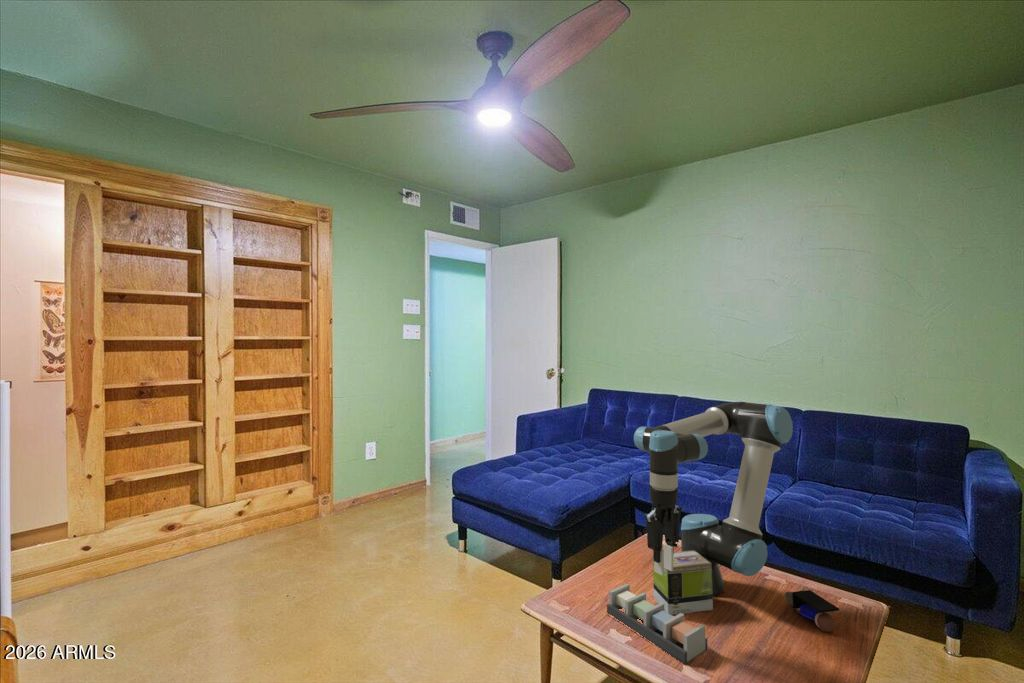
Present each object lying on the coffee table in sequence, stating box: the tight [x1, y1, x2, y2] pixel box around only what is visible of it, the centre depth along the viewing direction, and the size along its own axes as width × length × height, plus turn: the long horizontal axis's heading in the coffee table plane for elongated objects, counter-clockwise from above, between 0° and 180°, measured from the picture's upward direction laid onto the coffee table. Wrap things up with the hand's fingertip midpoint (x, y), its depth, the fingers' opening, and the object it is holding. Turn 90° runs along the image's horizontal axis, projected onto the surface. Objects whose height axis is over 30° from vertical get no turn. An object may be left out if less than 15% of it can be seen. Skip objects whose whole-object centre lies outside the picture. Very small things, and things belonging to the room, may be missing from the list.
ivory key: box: [616, 590, 637, 609], centre depth 143 cm, size 5×5×3 cm
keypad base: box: [606, 583, 708, 665], centre depth 135 cm, size 10×27×7 cm, turn 35°
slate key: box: [652, 610, 674, 632], centre depth 132 cm, size 5×5×3 cm
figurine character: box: [784, 589, 840, 633], centre depth 140 cm, size 7×8×15 cm
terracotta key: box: [672, 621, 695, 644], centre depth 126 cm, size 5×5×3 cm
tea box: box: [652, 550, 714, 616], centre depth 148 cm, size 15×10×15 cm
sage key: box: [633, 600, 655, 620], centre depth 137 cm, size 5×5×3 cm
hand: (663, 570), depth 132 cm, fingers open, 3 cm apart
